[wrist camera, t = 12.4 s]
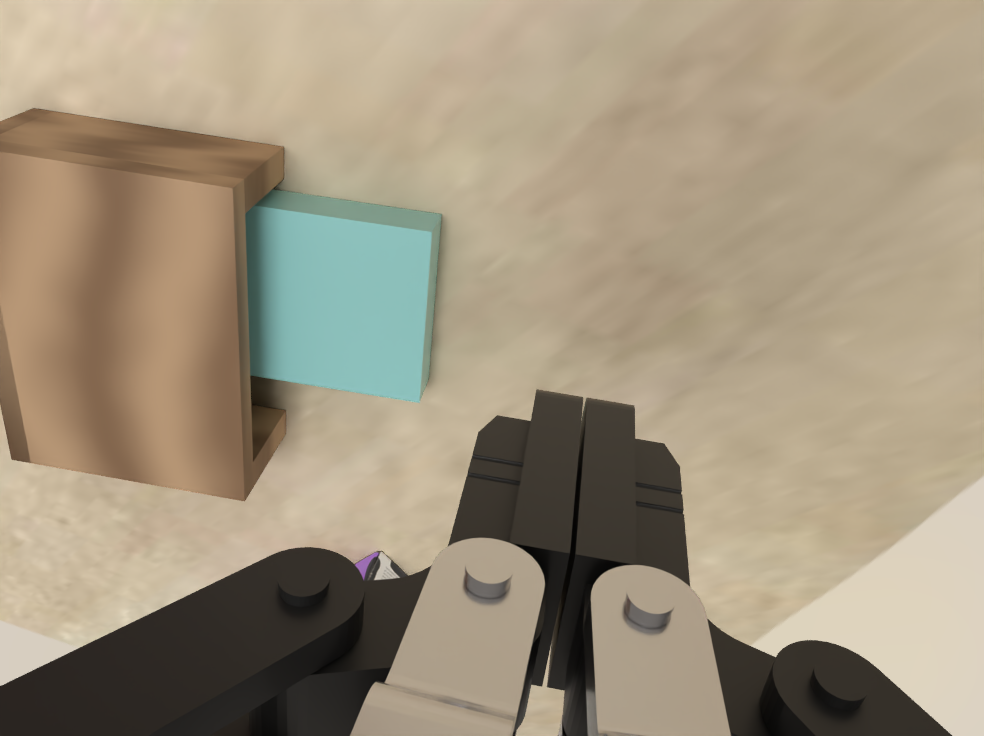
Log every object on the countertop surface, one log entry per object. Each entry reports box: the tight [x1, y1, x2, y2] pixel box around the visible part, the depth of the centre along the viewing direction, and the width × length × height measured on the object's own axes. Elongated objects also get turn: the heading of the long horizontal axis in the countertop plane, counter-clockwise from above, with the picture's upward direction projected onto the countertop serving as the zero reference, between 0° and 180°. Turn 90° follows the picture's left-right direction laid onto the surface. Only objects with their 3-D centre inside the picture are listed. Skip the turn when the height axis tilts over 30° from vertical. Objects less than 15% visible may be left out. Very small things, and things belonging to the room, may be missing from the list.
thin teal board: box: [245, 189, 442, 403], centre depth 43 cm, size 16×9×3 cm, turn 84°
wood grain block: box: [0, 108, 286, 501], centre depth 42 cm, size 12×16×6 cm
